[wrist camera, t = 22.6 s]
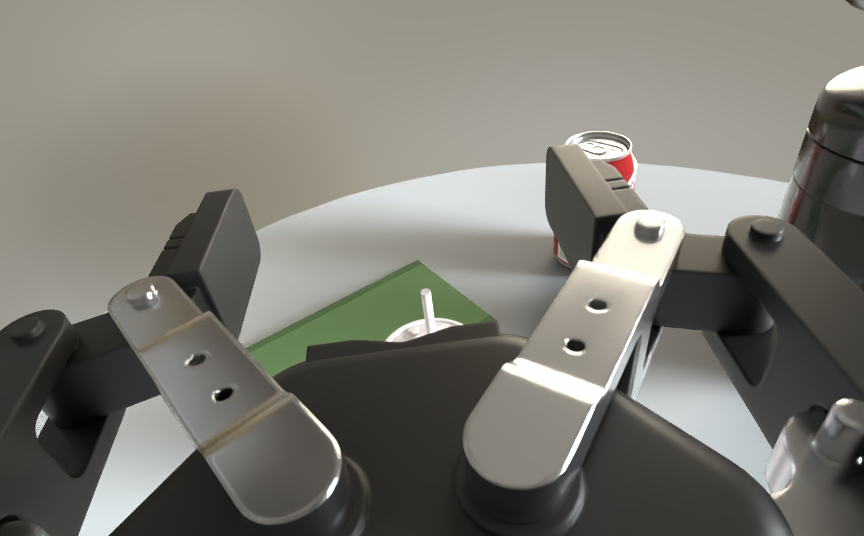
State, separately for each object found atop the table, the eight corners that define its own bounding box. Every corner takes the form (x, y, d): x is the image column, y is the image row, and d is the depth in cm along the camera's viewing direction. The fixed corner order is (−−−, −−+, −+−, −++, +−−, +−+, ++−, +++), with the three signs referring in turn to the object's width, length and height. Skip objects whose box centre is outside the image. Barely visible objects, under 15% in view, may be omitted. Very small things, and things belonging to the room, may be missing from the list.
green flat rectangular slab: (418, 263, 55) (417, 259, 55) (495, 323, 47) (495, 319, 47) (209, 370, 46) (208, 367, 46) (261, 467, 38) (259, 464, 38)
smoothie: (502, 425, 39) (496, 274, 30) (469, 504, 34) (452, 353, 26) (422, 401, 41) (396, 254, 33) (382, 472, 37) (340, 324, 28)
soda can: (591, 287, 50) (603, 170, 42) (539, 255, 54) (541, 145, 47) (638, 257, 52) (657, 142, 45) (585, 229, 57) (594, 121, 50)
